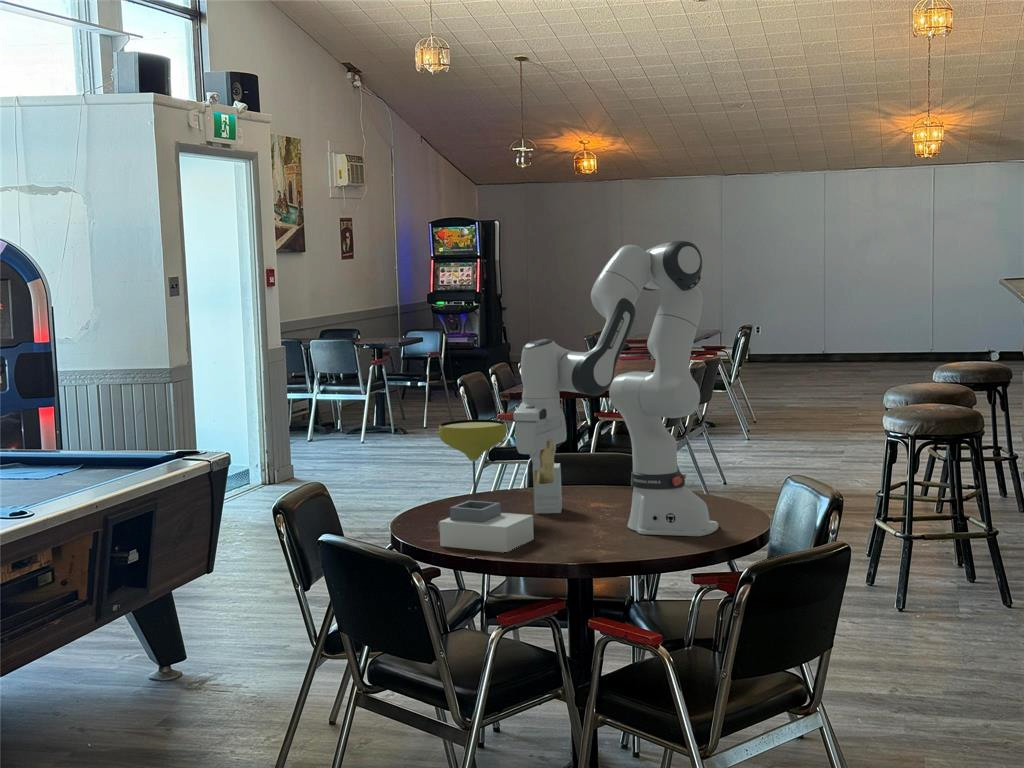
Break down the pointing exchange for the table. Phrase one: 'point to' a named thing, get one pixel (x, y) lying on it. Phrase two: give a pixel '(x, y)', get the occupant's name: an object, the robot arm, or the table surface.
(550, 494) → the supplement box
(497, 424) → the cocktail glass
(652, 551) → the table surface
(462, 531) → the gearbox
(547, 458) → the spout can
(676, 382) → the robot arm
